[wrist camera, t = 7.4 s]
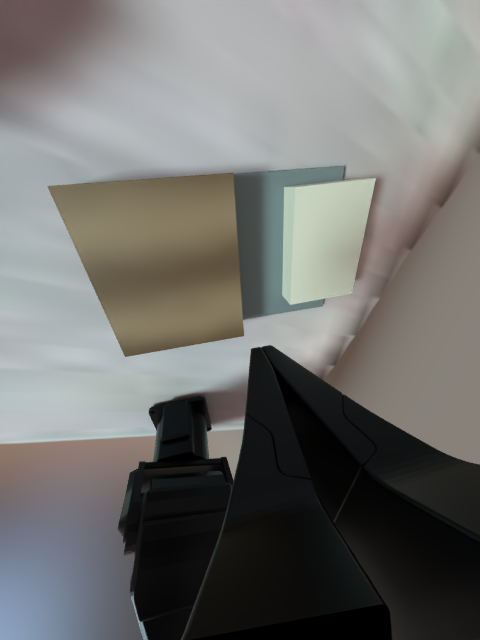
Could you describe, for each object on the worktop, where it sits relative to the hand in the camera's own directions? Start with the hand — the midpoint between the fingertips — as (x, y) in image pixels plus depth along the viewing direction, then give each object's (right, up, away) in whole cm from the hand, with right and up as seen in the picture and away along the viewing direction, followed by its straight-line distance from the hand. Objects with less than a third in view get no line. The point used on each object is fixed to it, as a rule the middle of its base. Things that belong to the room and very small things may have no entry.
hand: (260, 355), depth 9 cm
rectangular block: (+6, +7, +9) cm, 13 cm away
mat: (+3, +7, +10) cm, 13 cm away
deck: (-6, +6, +9) cm, 13 cm away
